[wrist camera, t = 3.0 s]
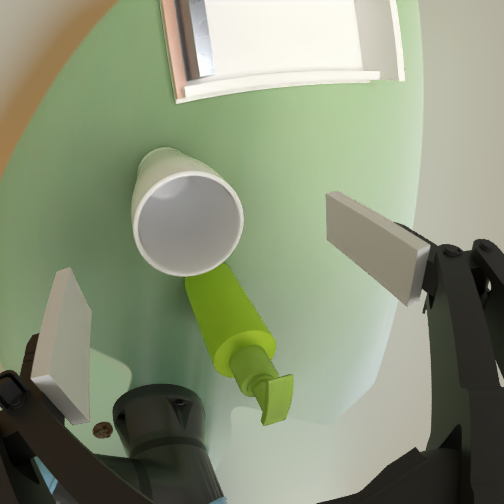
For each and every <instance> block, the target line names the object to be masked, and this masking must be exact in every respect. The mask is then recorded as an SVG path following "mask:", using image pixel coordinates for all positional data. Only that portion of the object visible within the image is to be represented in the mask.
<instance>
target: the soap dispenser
mask: <svg viewBox="0 0 504 504" xmlns="http://www.w3.org/2000/svg"><path fill="white" fill-rule="evenodd" d="M185 289H186V292H187V295H188V298H189V300H190V303H191V306H192V309H193V312H194V314H195V317H196V320H197V323H198V325H199V328H200V331H201V333H202V336H203V339H204V341H205V344H206V347H207V349H208V352H209V354H210V357H211V360H212V362H213V365H214V367H215V369H216V370H217V372H218V373H220V374H221V375H223V376H226V377H230V378H235V379H236V382H237V384H238V386H239V388H240V390H241V392H242V393H243V394H244V395H245V396H248V397H256V399H257V401H258V403H259V405H260V407H261V409H262V411H263V413H262V418H261V422H262V424H263V426H266V425H269V424H273V423H276V422H279V421H282V420H285V419H286V417H287V414H288V411H289V408H290V405H291V401H292V395H293V374H289V375H286V376H282V377H279V374H278V372H277V370H276V369H275V367H274V365H273V364H272V362H271V359H272V358H273V356H274V354H275V351H276V342H275V339H274V338H273V336H272V334H271V333H270V331H269V330H268V328H267V327H266V325H265V324H264V322H263V320H262V319H261V317H260V316H259V314H258V313H257V311H256V309H255V308H254V306H253V305H252V303H251V301H250V300H249V298H248V297H247V295H246V294H245V292H244V290H243V289H242V287H241V286H240V284H239V282H238V281H237V279H236V278H235V276H234V274H233V273H232V271H231V269H230V268H229V267H228V265H227V264H226V263H224V262H223V263H221V264H220V265H219V266H217V267H216V268H214V269H212V270H210V271H208V272H205V273H203V274H199V275H195V276H186V277H185Z"/></svg>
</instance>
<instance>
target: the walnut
mask: <svg viewBox="0 0 504 504" xmlns="http://www.w3.org/2000/svg"><path fill="white" fill-rule="evenodd" d="M112 433H113V427H112V425H111V423H109V422H100V423H98V424H96V425H95V426H94V428H93V435H94V436H95V437H96V438H99V439H104V438H109V437H110V436H111V434H112Z"/></svg>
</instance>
